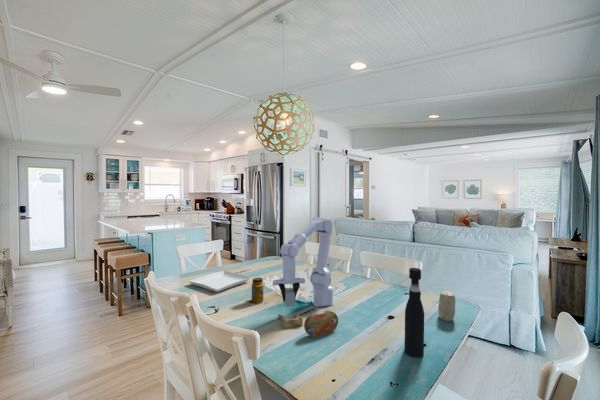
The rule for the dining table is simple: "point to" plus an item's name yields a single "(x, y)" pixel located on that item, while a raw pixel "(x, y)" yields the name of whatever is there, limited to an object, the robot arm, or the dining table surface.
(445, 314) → the beige upright cylinder
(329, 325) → the tin
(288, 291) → the panel block
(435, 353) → the dining table surface
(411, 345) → the wine bottle
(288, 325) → the wooden frame
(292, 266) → the robot arm
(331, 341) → the dining table surface
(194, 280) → the square plate
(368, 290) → the dining table surface
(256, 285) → the condiment
